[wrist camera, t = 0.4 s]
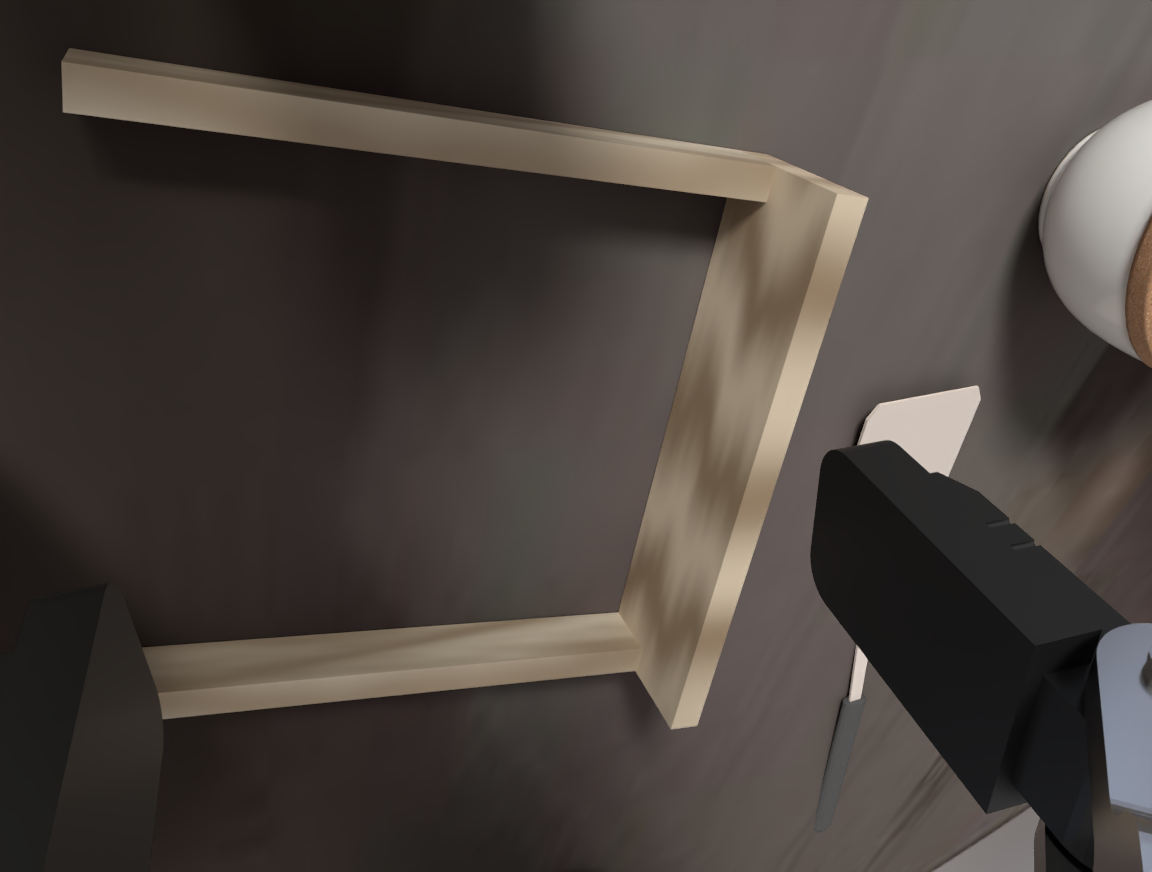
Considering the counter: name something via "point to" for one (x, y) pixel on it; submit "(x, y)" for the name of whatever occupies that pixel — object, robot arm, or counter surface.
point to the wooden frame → (695, 428)
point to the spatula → (934, 442)
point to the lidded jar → (1105, 232)
